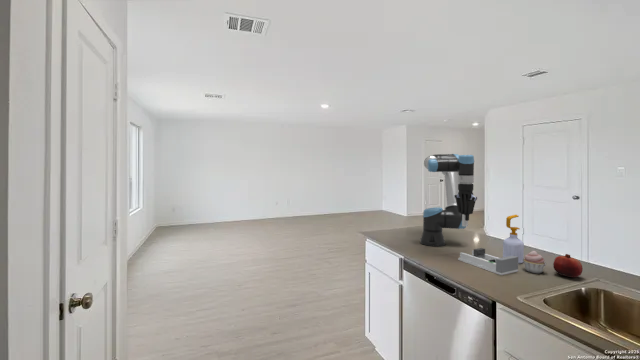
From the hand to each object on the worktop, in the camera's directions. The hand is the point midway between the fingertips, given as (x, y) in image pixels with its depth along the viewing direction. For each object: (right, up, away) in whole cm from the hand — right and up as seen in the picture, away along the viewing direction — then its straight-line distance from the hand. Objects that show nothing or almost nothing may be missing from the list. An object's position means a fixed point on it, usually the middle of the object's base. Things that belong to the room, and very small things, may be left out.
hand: (464, 226), depth 159 cm
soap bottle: (+23, -18, -5) cm, 30 cm away
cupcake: (+23, -19, -20) cm, 36 cm away
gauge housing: (+5, -18, -11) cm, 22 cm away
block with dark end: (+4, -17, -13) cm, 22 cm away
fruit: (+33, -19, -27) cm, 47 cm away
